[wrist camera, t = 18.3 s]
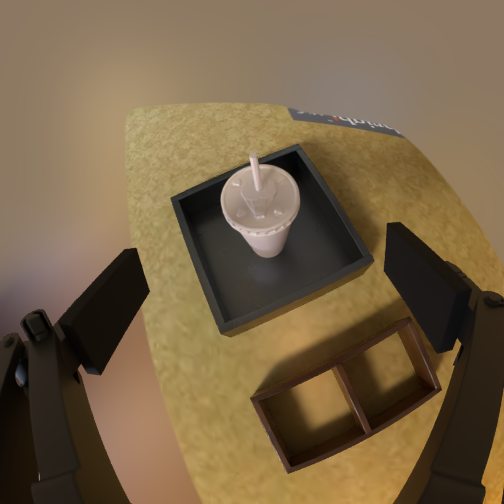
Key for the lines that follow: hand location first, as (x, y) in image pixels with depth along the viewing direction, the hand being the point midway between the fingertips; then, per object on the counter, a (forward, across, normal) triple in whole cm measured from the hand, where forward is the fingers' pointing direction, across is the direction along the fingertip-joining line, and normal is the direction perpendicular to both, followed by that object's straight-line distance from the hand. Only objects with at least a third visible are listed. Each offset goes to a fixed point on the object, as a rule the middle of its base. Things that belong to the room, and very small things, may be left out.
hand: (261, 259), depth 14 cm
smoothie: (+16, 0, -6) cm, 17 cm away
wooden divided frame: (+5, +7, -18) cm, 20 cm away
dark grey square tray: (+17, 0, -6) cm, 18 cm away
